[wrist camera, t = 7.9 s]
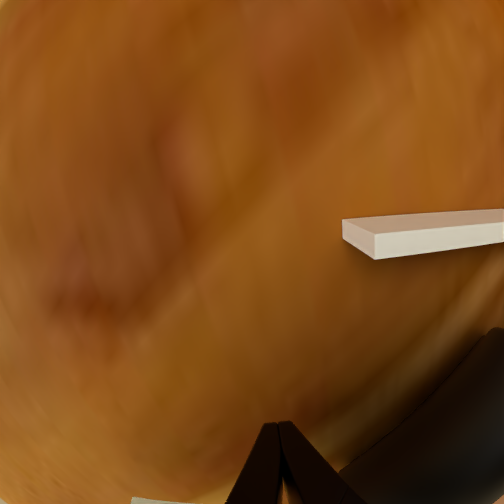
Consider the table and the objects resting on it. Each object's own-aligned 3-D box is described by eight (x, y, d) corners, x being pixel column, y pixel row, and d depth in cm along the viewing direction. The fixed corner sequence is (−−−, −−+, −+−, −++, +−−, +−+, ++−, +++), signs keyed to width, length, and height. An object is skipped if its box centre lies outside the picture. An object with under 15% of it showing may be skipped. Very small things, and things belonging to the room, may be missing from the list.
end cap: (465, 298, 10) (581, 381, 3) (509, 363, 11) (579, 427, 4) (304, 456, 12) (328, 577, 5) (385, 481, 13) (417, 563, 6)
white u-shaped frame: (480, 461, 13) (496, 484, 10) (322, 518, 13) (329, 551, 10) (559, 206, 9) (598, 216, 6) (341, 219, 9) (383, 238, 6)
